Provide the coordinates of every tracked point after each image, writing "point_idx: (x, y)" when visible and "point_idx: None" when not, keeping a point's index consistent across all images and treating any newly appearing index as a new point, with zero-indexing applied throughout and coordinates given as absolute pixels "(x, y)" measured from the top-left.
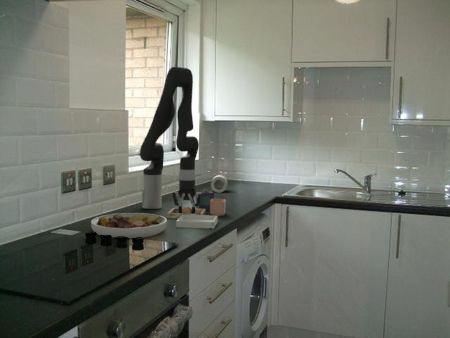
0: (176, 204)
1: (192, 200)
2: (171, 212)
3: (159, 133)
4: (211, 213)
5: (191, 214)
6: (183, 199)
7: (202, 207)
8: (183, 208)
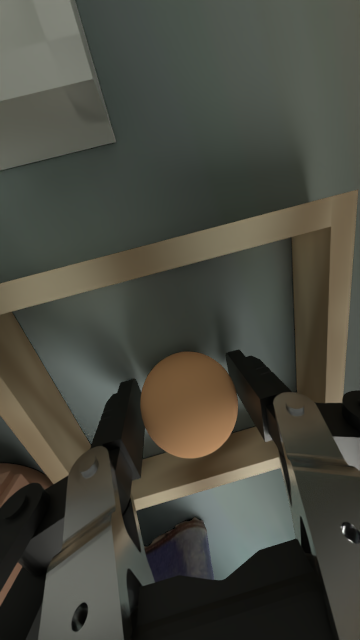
0: (350, 401)
1: (46, 608)
2: (318, 318)
3: None
4: (3, 473)
5: (50, 271)
6: (311, 567)
7: (169, 557)
8: (224, 393)
